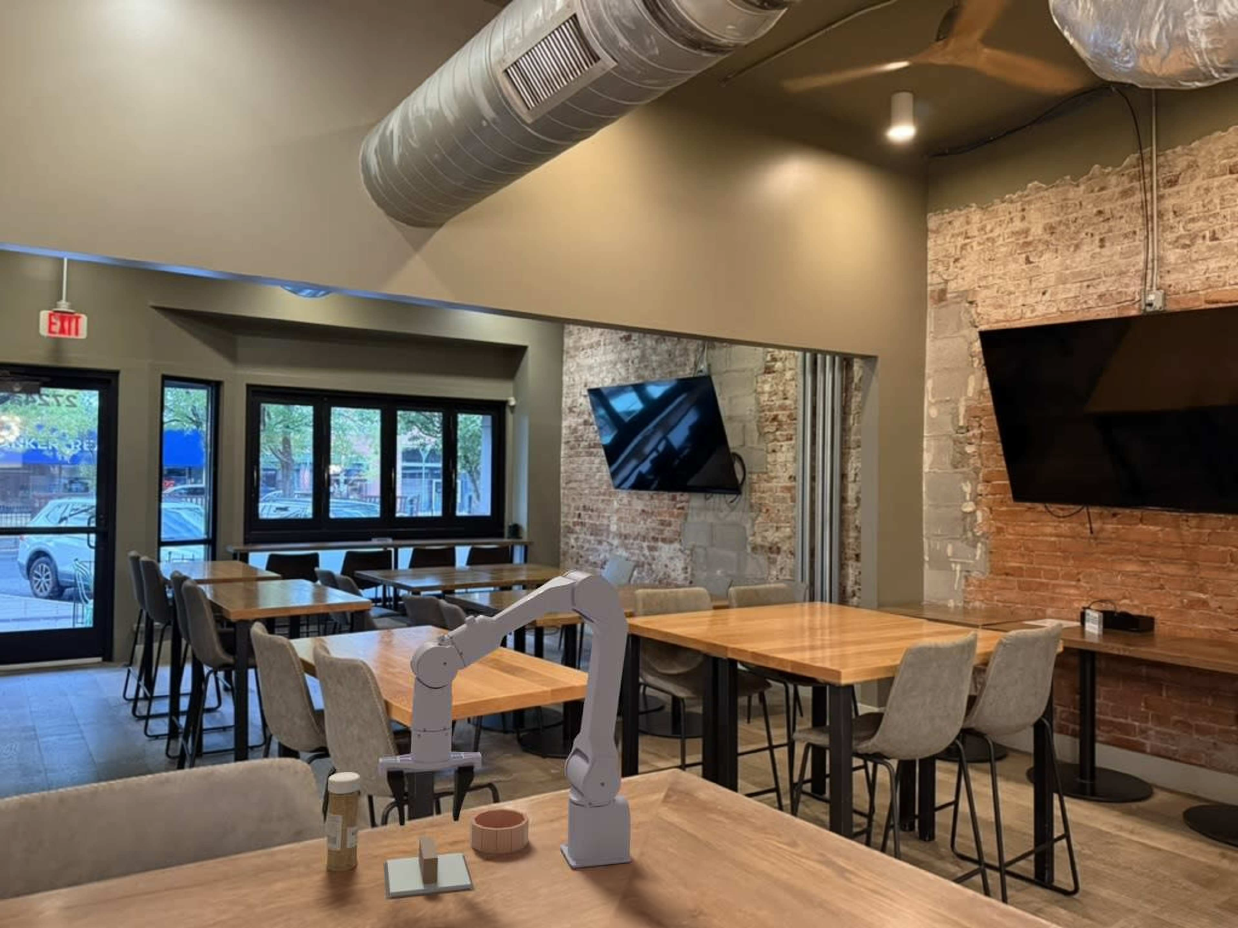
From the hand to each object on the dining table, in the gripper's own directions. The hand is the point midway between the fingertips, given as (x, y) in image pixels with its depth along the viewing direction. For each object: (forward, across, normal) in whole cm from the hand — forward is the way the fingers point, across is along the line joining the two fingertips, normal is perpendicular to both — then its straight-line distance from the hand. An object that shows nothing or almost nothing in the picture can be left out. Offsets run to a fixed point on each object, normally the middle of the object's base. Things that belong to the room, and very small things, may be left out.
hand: (428, 820), depth 128 cm
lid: (+8, 0, 0) cm, 8 cm away
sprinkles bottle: (+8, +12, -7) cm, 16 cm away
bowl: (+8, -12, -10) cm, 18 cm away
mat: (+8, 0, 0) cm, 8 cm away
